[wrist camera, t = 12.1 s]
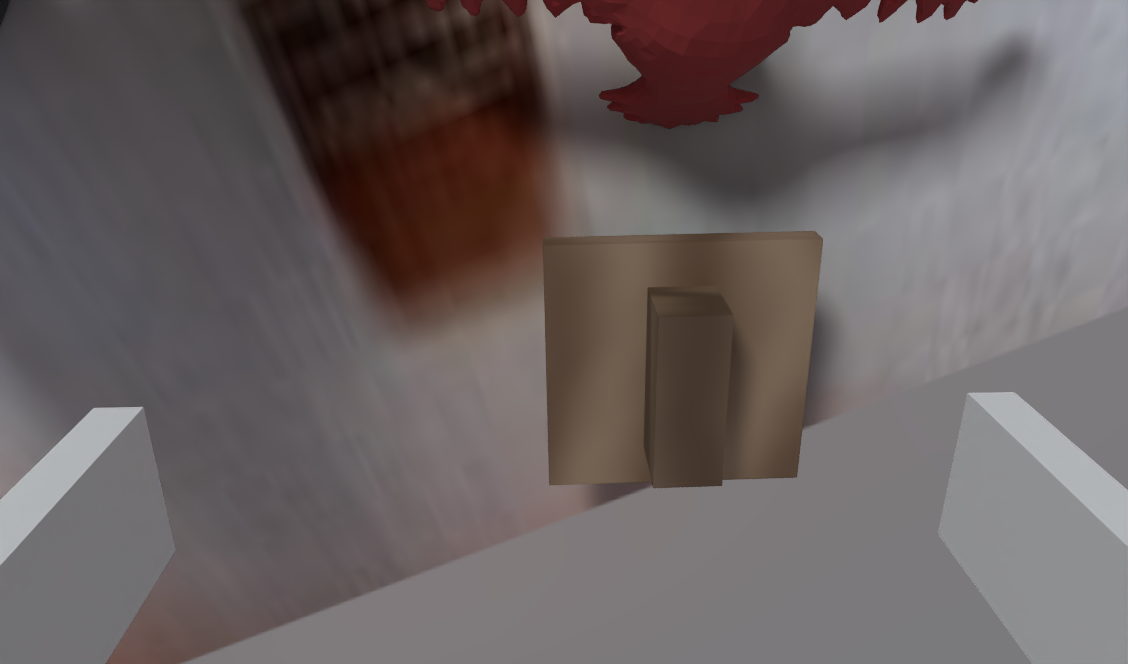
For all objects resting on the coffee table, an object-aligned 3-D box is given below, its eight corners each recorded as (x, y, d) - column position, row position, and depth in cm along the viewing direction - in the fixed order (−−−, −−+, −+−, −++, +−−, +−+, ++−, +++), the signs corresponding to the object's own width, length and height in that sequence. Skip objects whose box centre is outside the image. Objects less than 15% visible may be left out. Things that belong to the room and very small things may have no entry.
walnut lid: (549, 471, 41) (550, 529, 37) (542, 237, 37) (544, 272, 32) (789, 464, 42) (819, 520, 37) (814, 231, 37) (851, 264, 33)
